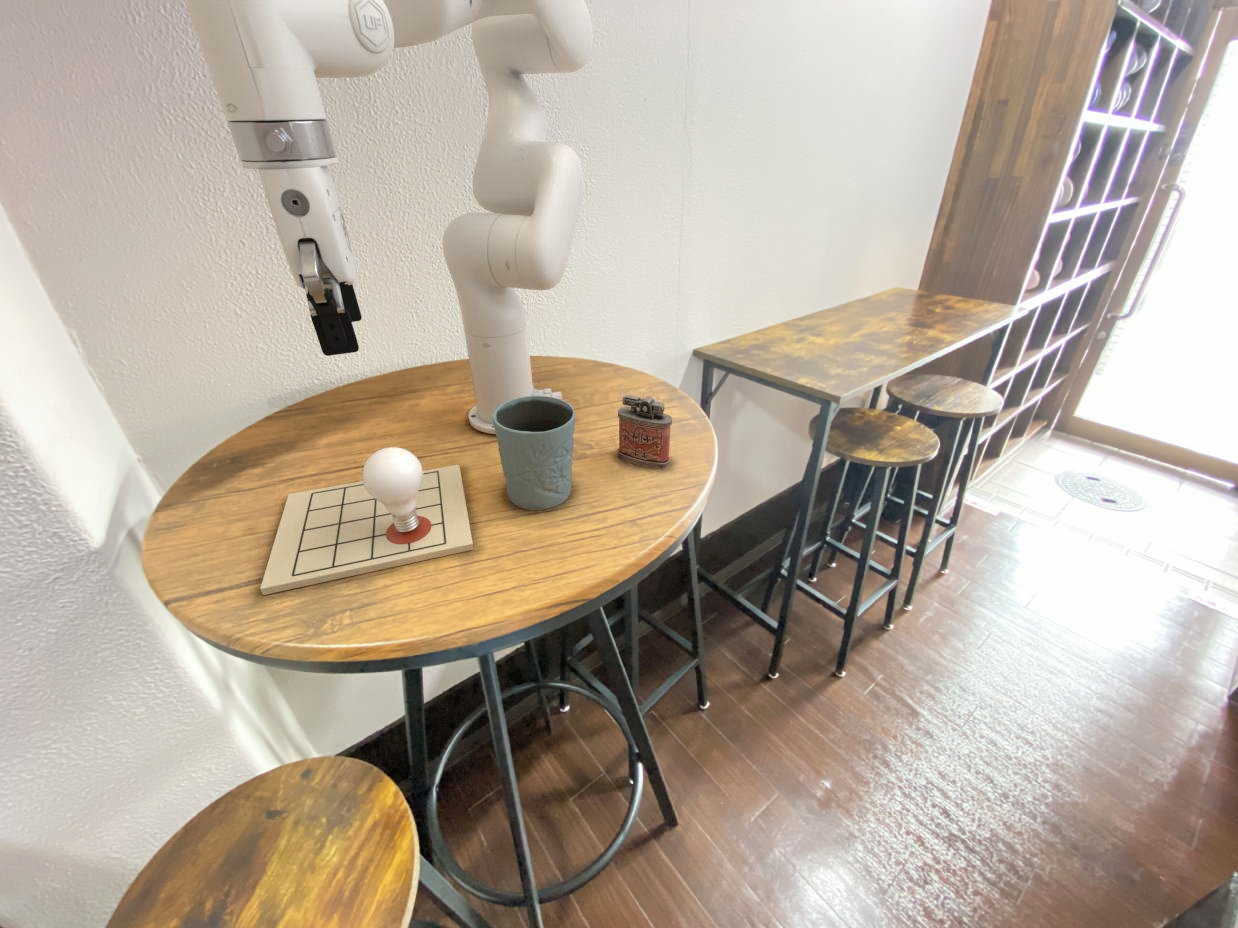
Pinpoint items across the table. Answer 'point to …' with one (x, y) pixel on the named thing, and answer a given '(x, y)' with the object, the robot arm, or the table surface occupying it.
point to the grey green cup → (536, 450)
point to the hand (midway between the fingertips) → (344, 336)
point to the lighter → (644, 432)
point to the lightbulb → (395, 484)
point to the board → (364, 532)
